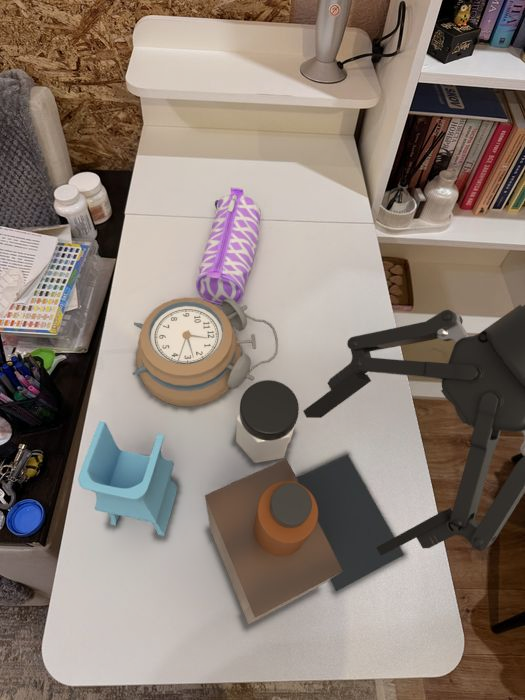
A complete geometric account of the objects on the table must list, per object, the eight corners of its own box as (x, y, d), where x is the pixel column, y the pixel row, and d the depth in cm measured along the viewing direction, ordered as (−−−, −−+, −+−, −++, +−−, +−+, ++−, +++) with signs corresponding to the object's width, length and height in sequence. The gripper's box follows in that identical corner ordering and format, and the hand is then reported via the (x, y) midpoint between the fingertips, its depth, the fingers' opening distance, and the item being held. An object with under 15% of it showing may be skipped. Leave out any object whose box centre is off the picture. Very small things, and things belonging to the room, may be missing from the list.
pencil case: (215, 217, 103) (214, 180, 94) (261, 223, 102) (264, 187, 94) (195, 307, 92) (192, 274, 83) (246, 314, 91) (248, 281, 83)
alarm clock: (130, 289, 81) (273, 282, 84) (139, 320, 89) (269, 314, 92) (126, 385, 73) (286, 375, 75) (136, 410, 81) (280, 401, 83)
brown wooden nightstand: (315, 588, 70) (343, 570, 52) (248, 624, 67) (255, 617, 50) (273, 501, 75) (286, 458, 58) (210, 530, 73) (204, 495, 55)
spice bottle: (316, 541, 54) (334, 519, 44) (268, 565, 52) (276, 548, 43) (292, 492, 56) (304, 461, 46) (245, 514, 55) (249, 487, 45)
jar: (280, 472, 77) (288, 445, 67) (229, 454, 78) (230, 425, 68) (297, 420, 82) (307, 387, 71) (249, 404, 83) (252, 369, 72)
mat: (403, 555, 72) (404, 554, 72) (336, 591, 70) (336, 591, 69) (347, 455, 79) (347, 454, 79) (284, 484, 76) (284, 483, 76)
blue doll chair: (179, 481, 76) (165, 433, 59) (164, 536, 72) (144, 502, 55) (128, 470, 76) (98, 420, 59) (110, 524, 72) (73, 487, 55)
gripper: (688, 487, 36) (436, 602, 45) (473, 235, 46) (306, 370, 55) (697, 500, 30) (404, 630, 39) (448, 208, 40) (264, 364, 49)
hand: (345, 477), depth 47 cm, fingers open, 13 cm apart
